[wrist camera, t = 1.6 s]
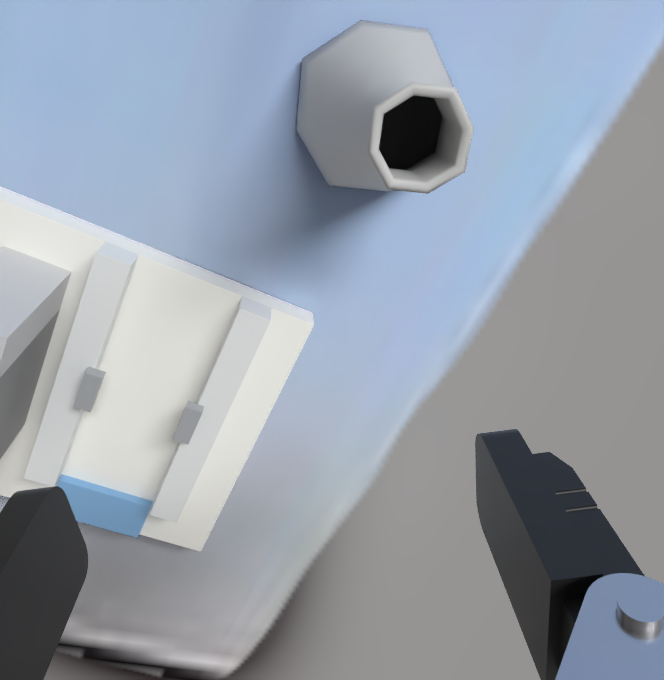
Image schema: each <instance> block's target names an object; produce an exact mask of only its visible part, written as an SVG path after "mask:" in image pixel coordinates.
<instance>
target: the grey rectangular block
mask: <svg viewBox="0 0 664 680" xmlns="http://www.w3.org/2000/svg"><path fill="white" fill-rule="evenodd" d="M70 275H71V271H68V270H66V269H63V268H60V267H58V266H55V265H53V264H50V263H47V262H45V261H42V260H39V259H37V258H34V257H32V256H29V255H26V254H24V253H21V252H18V251H16V250H13V249H11V248H8V247H5V246H2V247H1V248H0V459H1V458H2V456H3V455H4V453H5V452H6V451H7V449H8V448H9V446H10V445H11V443H12V442H13V440H14V439H15V438H16V436H17V435H18V433H19V432H20V430H21V429H22V428H23V426H24V425H25V422H26V418H27V415H28V412H29V409H30V405H31V402H32V399H33V396H34V392H35V389H36V386H37V383H38V379H39V376H40V373H41V369H42V366H43V363H44V360H45V356H46V353H47V350H48V347H49V343H50V340H51V337H52V334H53V330H54V327H55V324H56V321H57V317H58V314H59V311H60V308H61V304H62V301H63V298H64V295H65V291H66V288H67V285H68V282H69V278H70Z"/></svg>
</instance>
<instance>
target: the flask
mask: <svg viewBox="0 0 664 680" xmlns="http://www.w3.org/2000/svg"><path fill="white" fill-rule="evenodd" d="M296 130H297V132H298V134H299V135H300V137H301V139H302V140H303V142H304V144H305V146H306V147H307V149H308V151H309V152H310V154H311V156H312V158H313V159H314V161H315V163H316V164H317V166H318V168H319V170H320V171H321V173H322V175H323V176H324V178H325V180H326V182H327V183H328V185H329V186H338V187H347V188H357V189H367V190H376V191H386V192H390V191H392V190H399V191H409V192H419V193H430V192H431V191H433V190H435V189H436V188H438V187H440V186H442V185H443V184H445V183H447V182H448V181H450V180H452V179H454V178H455V177H457V176H459V175H460V174H462V173H464V172H465V169H466V164H467V159H468V154H469V150H470V145H471V140H472V135H473V130H474V127H473V125H472V123H471V121H470V118H469V116H468V114H467V112H466V109H465V107H464V105H463V103H462V100H461V98H460V96H459V94H458V91H457V89H456V88H455V87H454V86H453V83H452V81H451V79H450V77H449V75H448V72H447V70H446V68H445V66H444V63H443V61H442V59H441V57H440V54H439V52H438V50H437V48H436V46H435V43H434V41H433V39H432V37H431V34H430V32H429V30H428V29H423V28H416V27H409V26H401V25H394V24H386V23H379V22H372V21H364V20H360V21H359V22H357V23H356V24H354V25H353V26H351V27H350V28H348V29H347V30H345V31H344V32H342V33H341V34H339V35H338V36H336V37H334V38H333V39H331V40H330V41H328V42H327V43H325V44H324V45H322V46H321V47H319V48H318V49H316V50H315V51H313V52H312V53H310V54H308V55H307V56H305V57H304V58H302V67H301V79H300V91H299V102H298V114H297V126H296Z"/></svg>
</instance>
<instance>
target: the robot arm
mask: <svg viewBox="0 0 664 680" xmlns="http://www.w3.org/2000/svg"><path fill="white" fill-rule="evenodd" d="M475 447H476V496H477V497H476V498H477V507H478V513H479V518H480V522H481V526H482V529H483V532H484V534H485V537H486V539H487V542H488V545H489V547H490V550H491V552H492V555H493V558H494V560H495V563H496V565H497V568H498V570H499V573H500V576H501V578H502V581H503V583H504V586H505V589H506V591H507V593H508V596H509V599H510V601H511V604H512V607H513V609H514V611H515V614H516V617H517V619H518V622H519V625H520V627H521V630H522V632H523V635H524V637H525V640H526V643H527V645H528V648H529V650H530V653H531V655H532V658H533V661H534V663H535V666H536V668H537V671H538V673H539V676H540V678H541V680H664V584H662V583H660V582H659V581H656V580H654V579H651V578H648V577H645V576H644V574H643V573H642V571H641V570H640V568H639V567H638V566H637V564H636V562H635V561H634V559H633V558H632V557H631V555H630V554H629V552H628V551H627V549H626V548H625V546H624V545H623V543H622V542H621V540H620V539H619V537H618V536H617V534H616V533H615V531H614V530H613V528H612V527H611V525H610V524H609V522H608V521H607V519H606V518H605V516H604V515H603V513H602V512H601V510H600V509H598V508H597V504H596V503H595V501H594V500H593V498H592V497H591V495H590V494H589V492H586V488H585V486H584V485H583V483H582V482H581V480H580V479H579V477H578V476H577V474H576V473H575V471H574V470H573V468H572V467H570V466H569V465H567V464H566V463H565V462H563V461H562V460H560V459H559V458H557V457H556V456H554V455H553V454H552V453H550V452H546V453H538V454H532V453H531V451H530V449H529V448H528V446H527V444H526V443H525V441H524V439H523V438H522V436H521V434H520V433H519V431H518V430H516V429H512V430H504V431H497V432H489V433H481V434H477V436H476V444H475ZM87 568H88V554H87V548H86V544H85V542H84V539H83V537H82V534H81V532H80V529H79V526H78V524H77V521H76V519H75V516H74V514H73V511H72V509H71V506H70V504H69V501H68V499H67V496H66V494H65V492H64V490H63V489H62V488H60V487H58V486H54V487H46V488H38V489H30V490H22V491H17V492H15V493H14V494H13V495H12V496H11V497H10V499H9V500H8V502H7V503H6V505H5V506H4V508H3V509H2V511H1V512H0V680H43V679H44V676H45V674H46V672H47V669H48V667H49V665H50V662H51V660H52V657H53V655H54V653H55V650H56V648H57V645H58V643H59V641H60V638H61V636H62V633H63V631H64V629H65V626H66V624H67V621H68V619H69V617H70V614H71V612H72V609H73V607H74V604H75V602H76V600H77V597H78V595H79V592H80V590H81V588H82V585H83V583H84V580H85V578H86V574H87Z"/></svg>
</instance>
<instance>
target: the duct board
mask: <svg viewBox="0 0 664 680" xmlns="http://www.w3.org/2000/svg"><path fill="white" fill-rule="evenodd" d="M2 246H5V247H8V248H11V249H13V250H16V251H18V252H21V253H24V254H26V255H29V256H32V257H34V258H37V259H39V260H42V261H45V262H47V263H50V264H53V265H55V266H58V267H60V268H63V269H66V270H68V271H71V275H70V278H69V282H68V285H67V288H66V291H65V295H64V298H63V301H62V304H61V308H60V311H59V314H58V317H57V321H56V324H55V327H54V330H53V334H52V337H51V340H50V343H49V347H48V350H47V353H46V356H45V360H44V363H43V366H42V369H41V373H40V376H39V379H38V383H37V386H36V389H35V392H34V396H33V399H32V402H31V405H30V409H29V412H28V415H27V418H26V422H25V425H24V426H23V428H22V429H21V430H20V432H19V433H18V435H17V436H16V438H15V439H14V440H13V442H12V443H11V445H10V446H9V448H8V449H7V451H6V452H5V453H4V455H3V456H2V458H1V459H0V495H2V496H5V497H9V498H10V497H11V496H12V495H13V494H14V493H15V492H17V491H22V490H30V489H38V488H46V487H54V486H58V487H60V488H62V489H63V490H64V492H65V494H66V496H67V499H68V501H69V504H70V506H71V509H72V511H73V514H74V516H75V519H76V521H79V522H82V523H86V524H89V525H93V526H96V527H100V528H103V529H107V530H111V531H114V532H118V533H121V534H125V535H128V536H132V537H136V538H138V536H139V534H140V535H143V536H147V537H150V538H154V539H158V540H161V541H165V542H168V543H172V544H175V545H179V546H182V547H186V548H189V549H193V550H197V551H200V552H201V550H202V548H203V546H204V544H205V542H206V540H207V538H208V536H209V534H210V532H211V530H212V528H213V526H214V524H215V522H216V520H217V518H218V516H219V514H220V512H221V510H222V508H223V506H224V504H225V502H226V500H227V498H228V496H229V494H230V492H231V490H232V488H233V486H234V484H235V482H236V480H237V478H238V476H239V474H240V472H241V470H242V468H243V466H244V464H245V462H246V460H247V458H248V456H249V454H250V452H251V450H252V448H253V446H254V444H255V442H256V440H257V438H258V436H259V434H260V432H261V430H262V428H263V426H264V424H265V422H266V420H267V418H268V416H269V414H270V412H271V410H272V408H273V406H274V404H275V402H276V400H277V398H278V396H279V394H280V392H281V390H282V388H283V386H284V384H285V382H286V380H287V378H288V376H289V374H290V372H291V370H292V368H293V366H294V364H295V362H296V360H297V358H298V356H299V354H300V352H301V350H302V348H303V346H304V344H305V342H306V340H307V338H308V336H309V334H310V332H311V330H312V328H313V326H314V321H313V313H312V312H310V311H307V310H305V309H302V308H300V307H297V306H295V305H292V304H290V303H287V302H285V301H283V300H280V299H278V298H275V297H273V296H270V295H268V294H265V293H263V292H260V291H258V290H255V289H253V288H250V287H248V286H246V285H243V284H241V283H238V282H236V281H233V280H231V279H228V278H226V277H223V276H221V275H218V274H216V273H213V272H211V271H209V270H206V269H204V268H201V267H199V266H196V265H194V264H191V263H189V262H186V261H184V260H181V259H179V258H176V257H174V256H172V255H169V254H167V253H164V252H162V251H159V250H157V249H154V248H152V247H149V246H147V245H144V244H142V243H139V242H137V241H135V240H132V239H130V238H127V237H125V236H122V235H120V234H117V233H115V232H112V231H110V230H107V229H105V228H102V227H100V226H97V225H95V224H93V223H90V222H88V221H85V220H83V219H80V218H78V217H75V216H73V215H70V214H68V213H65V212H63V211H60V210H58V209H56V208H53V207H51V206H48V205H46V204H43V203H41V202H38V201H36V200H33V199H31V198H28V197H26V196H23V195H21V194H19V193H16V192H14V191H11V190H9V189H6V188H4V187H1V186H0V248H1V247H2Z"/></svg>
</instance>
